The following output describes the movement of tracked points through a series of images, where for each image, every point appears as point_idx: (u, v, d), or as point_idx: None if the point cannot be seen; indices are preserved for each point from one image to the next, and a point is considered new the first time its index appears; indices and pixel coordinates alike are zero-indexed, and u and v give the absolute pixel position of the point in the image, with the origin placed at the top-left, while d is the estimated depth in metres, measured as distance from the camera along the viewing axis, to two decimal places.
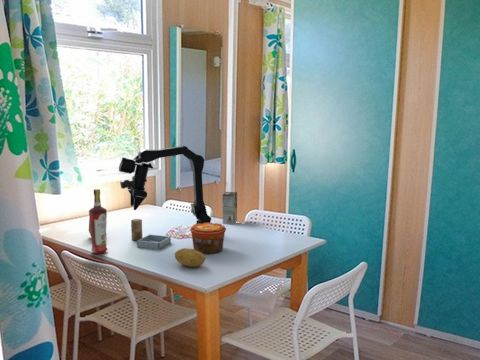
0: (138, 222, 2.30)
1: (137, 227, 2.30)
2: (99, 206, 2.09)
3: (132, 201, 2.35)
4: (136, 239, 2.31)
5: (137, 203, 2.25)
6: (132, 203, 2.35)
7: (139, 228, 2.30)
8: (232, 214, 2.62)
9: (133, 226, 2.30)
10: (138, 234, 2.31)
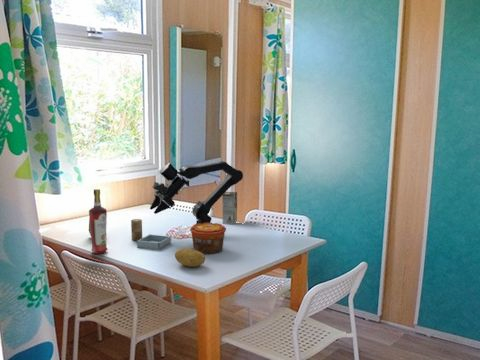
0: (138, 222, 2.30)
1: (137, 227, 2.30)
2: (99, 206, 2.09)
3: (153, 205, 2.38)
4: (136, 239, 2.31)
5: (160, 208, 2.29)
6: (152, 207, 2.38)
7: (139, 228, 2.30)
8: (232, 214, 2.62)
9: (133, 226, 2.30)
10: (138, 234, 2.31)
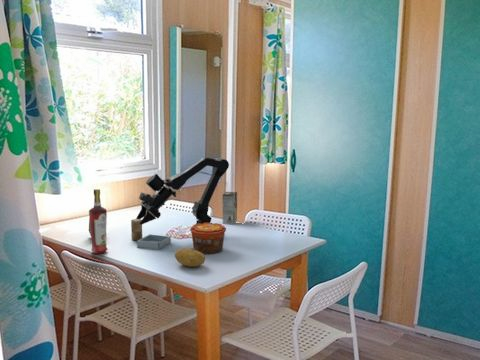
0: (138, 222, 2.30)
1: (137, 227, 2.30)
2: (99, 206, 2.09)
3: (139, 216, 2.37)
4: (136, 239, 2.31)
5: (146, 219, 2.27)
6: (138, 218, 2.36)
7: (139, 228, 2.30)
8: (232, 214, 2.62)
9: (133, 226, 2.30)
10: (138, 234, 2.31)
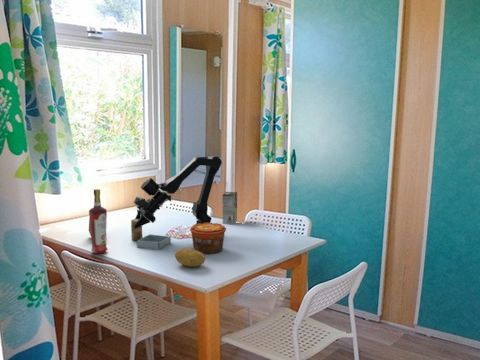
0: None
1: None
2: (99, 206, 2.09)
3: None
4: (136, 239, 2.31)
5: (140, 223, 2.29)
6: None
7: (139, 228, 2.30)
8: (232, 214, 2.62)
9: (133, 226, 2.30)
10: (138, 234, 2.31)
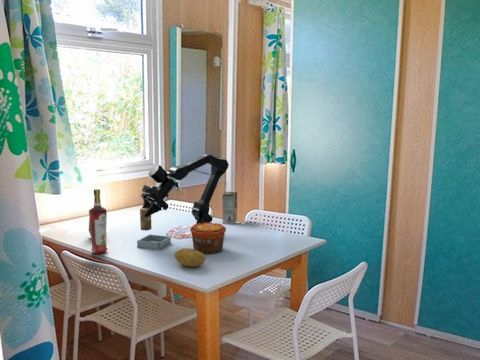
0: None
1: None
2: (99, 206, 2.09)
3: None
4: (146, 228, 2.24)
5: (151, 211, 2.23)
6: None
7: (149, 217, 2.24)
8: (232, 214, 2.62)
9: (144, 215, 2.23)
10: (148, 223, 2.24)
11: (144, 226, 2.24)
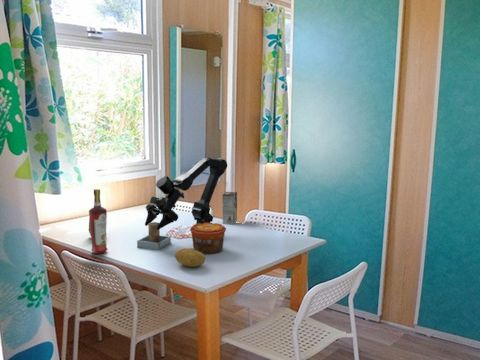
0: None
1: (157, 230, 2.22)
2: (99, 206, 2.09)
3: (148, 221, 2.26)
4: None
5: (163, 224, 2.20)
6: (147, 223, 2.26)
7: (158, 231, 2.23)
8: (232, 214, 2.62)
9: (153, 230, 2.21)
10: (157, 238, 2.23)
11: (153, 241, 2.22)
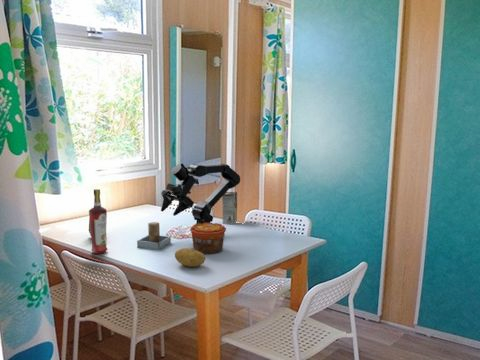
0: (158, 225, 2.22)
1: (157, 230, 2.22)
2: (99, 206, 2.09)
3: (164, 207, 2.33)
4: None
5: (179, 210, 2.26)
6: (163, 209, 2.32)
7: (158, 231, 2.23)
8: (232, 214, 2.62)
9: (153, 229, 2.21)
10: (158, 238, 2.23)
11: (153, 241, 2.22)
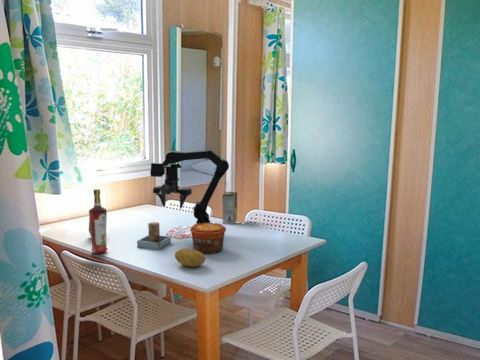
0: (158, 224, 2.22)
1: (157, 230, 2.22)
2: (99, 206, 2.09)
3: (164, 202, 2.43)
4: None
5: (183, 201, 2.40)
6: (164, 204, 2.44)
7: (158, 231, 2.23)
8: (232, 214, 2.62)
9: (153, 229, 2.21)
10: (158, 238, 2.23)
11: (153, 241, 2.22)
